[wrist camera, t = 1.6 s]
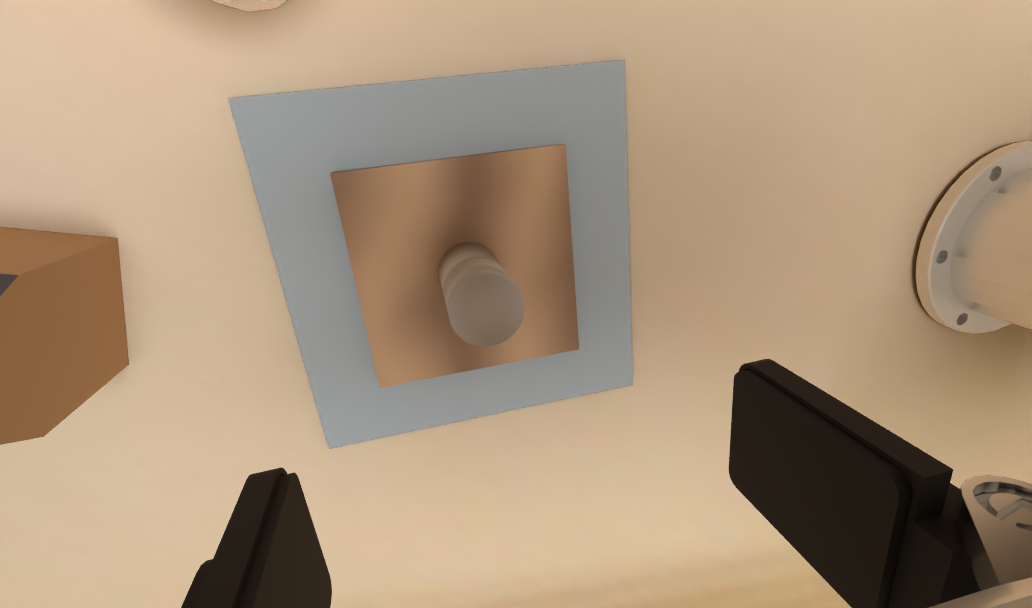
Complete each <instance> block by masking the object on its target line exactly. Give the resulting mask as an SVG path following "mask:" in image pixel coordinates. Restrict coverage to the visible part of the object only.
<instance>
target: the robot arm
mask: <svg viewBox="0 0 1032 608" xmlns="http://www.w3.org/2000/svg"><path fill="white" fill-rule="evenodd" d="M916 284H917V292H918V295H919V298H920V300H921V303H922V306H923V307H924V309H925V310H926V312H927V313H928V314H929V316H930V317H932V318H933V319H934V320H935V321H937V322H938V323H939V324H942V325H944V326H947V327H949V328H952V329H954V330H957V331H961V332H965V333H986V332H990V331H995V330H998V329H1000V328H1003V327H1005V326H1008V325H1010V324H1016V325H1019V326H1022V327H1025V328H1028V329H1031V330H1032V141H1024V142H1018V143H1012V144H1010V145H1007V146H1004V147H1002V148H999V149H997V150H995V151H993V152H991V153H990V154H988V155H986V156H985V157H983V158H981V159H980V160H979V161H977V162H976V163H975V164H974V165H973V166H971V167H970V168H969V169H968V170H966V171H965V172H964V173H963V174H962V175H961V176H960V177H959V178H958V179H957V181H956V182H955V183H954V184H953V185H952V186H951V187H950V188H949V189H948V191H947V192H946V194H945V195H944V196H943V198H942V199H941V201H940V202H939V203H938V205H937V207H936V208H935V210H934V212H933V214H932V216H931V218H930V220H929V221H928V223H927V226H926V229H925V231H924V234H923V236H922V239H921V242H920V246H919V251H918V255H917V260H916ZM952 473H953V469H951V468H950V467H948V466H947V465H945V464H943V463H942V462H940V461H938V460H937V459H935V458H933V457H932V456H930V455H928V454H927V453H925V452H923V451H922V450H920V449H918V448H917V447H915V446H913V445H912V444H910V443H908V442H907V441H905V440H904V439H902V438H900V437H899V436H897V435H895V434H894V433H892V432H890V431H889V430H887V429H885V428H884V427H882V426H880V425H879V424H877V423H875V422H874V421H872V420H870V419H869V418H867V417H865V416H864V415H862V414H860V413H859V412H857V411H856V410H854V409H852V408H851V407H849V406H847V405H846V404H844V403H842V402H841V401H839V400H837V399H836V398H834V397H832V396H831V395H829V394H827V393H826V392H824V391H822V390H821V389H819V388H817V387H816V386H814V385H813V384H811V383H809V382H808V381H806V380H804V379H803V378H801V377H799V376H798V375H796V374H794V373H793V372H791V371H789V370H788V369H786V368H784V367H783V366H781V365H779V364H778V363H776V362H774V361H773V360H770V359H764V360H759V361H755V362H751V363H746V364H743V365H742V366H741V367H740V369H739V372H737V373H736V374H735V376H734V387H733V404H732V422H731V439H730V457H729V474H730V478H731V480H732V482H733V484H734V485H735V487H736V488H737V489H738V490H739V491H740V492H741V493H742V494H743V495H744V496H745V497H746V498H747V499H748V500H749V501H750V502H751V503H752V504H753V506H754V507H755V508H756V509H757V510H758V511H759V512H760V513H761V514H762V515H763V516H764V517H765V518H766V519H767V520H768V521H769V522H770V523H771V524H772V525H773V526H774V527H775V528H776V529H777V530H778V531H779V533H780V534H781V535H782V536H783V537H784V538H785V539H786V540H787V541H788V542H789V543H790V544H791V545H792V546H793V547H794V548H795V549H796V550H797V551H798V552H799V553H800V554H801V555H802V556H803V557H804V559H805V560H806V561H807V562H808V563H809V564H810V565H811V566H812V567H813V568H814V569H815V570H816V571H817V572H818V573H819V574H820V575H821V576H822V577H823V578H824V579H825V580H826V581H827V582H828V583H829V584H830V586H831V587H832V588H833V589H834V590H835V591H836V592H837V593H838V594H839V595H840V596H841V597H842V598H843V599H844V600H845V601H846V602H847V603H848V604H849V605H850V606H851V607H852V608H1032V485H1031V484H1029V483H1026V482H1023V481H1019V480H1015V479H1011V478H1007V477H1000V476H990V475H986V476H975V477H972V478H970V479H967V480H965V482H964V483H963V484H962V486H961V489H959V488H957V487H956V486H954V485H952V484H951V483H950V480H951V476H952ZM331 596H332V587H331V579H330V575H329V572H328V569H327V565H326V562H325V559H324V556H323V553H322V550H321V547H320V544H319V541H318V538H317V534H316V531H315V528H314V525H313V522H312V519H311V516H310V513H309V510H308V506H307V503H306V500H305V497H304V494H303V491H302V488H301V485H300V482H299V479H298V476H297V475H296V473H291V474H287V472H286V471H285V469H284V468H278V469H273V470H269V471H264V472H260V473H255V474H251V475H249V476H248V478H247V480H246V482H245V485H244V487H243V489H242V492H241V494H240V496H239V499H238V501H237V504H236V506H235V508H234V511H233V513H232V515H231V518H230V520H229V523H228V525H227V527H226V530H225V532H224V535H223V537H222V539H221V542H220V544H219V546H218V549H217V551H216V554H215V556H214V558H213V559H212V560H208V561H206V562H205V563H203V564H202V565H201V566H200V568H199V570H198V572H197V573H196V575H195V578H194V580H193V582H192V584H191V587H190V589H189V591H188V593H187V596H186V598H185V600H184V602H183V605H182V607H181V608H330V605H331Z"/></svg>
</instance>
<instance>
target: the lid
mask: <svg viewBox="0 0 1032 608" xmlns="http://www.w3.org/2000/svg"><path fill="white" fill-rule="evenodd" d="M330 176H331V180H332V184H333V189H334V193H335V197H336V202H337V206H338V210H339V214H340V219H341V223H342V227H343V232H344V236H345V240H346V245H347V249H348V253H349V258H350V262H351V266H352V271H353V275H354V279H355V284H356V288H357V292H358V297H359V301H360V305H361V310H362V314H363V318H364V322H365V327H366V331H367V335H368V340H369V344H370V348H371V353H372V357H373V361H374V366H375V370H376V374H377V379H378V383H379V387H380V388H383V387H388V386H394V385H399V384H404V383H409V382H414V381H419V380H424V379H430V378H435V377H440V376H445V375H450V374H455V373H460V372H466V371H471V370H476V369H481V368H486V367H491V366H496V365H502V364H507V363H512V362H517V361H522V360H527V359H532V358H538V357H543V356H548V355H553V354H558V353H563V352H568V351H573V350H579V336H578V321H577V306H576V292H575V277H574V262H573V247H572V232H571V217H570V202H569V188H568V173H567V158H566V144H556V145H548V146H540V147H532V148H523V149H515V150H507V151H499V152H491V153H483V154H475V155H467V156H459V157H451V158H442V159H434V160H426V161H418V162H410V163H402V164H394V165H386V166H378V167H370V168H362V169H353V170H345V171H337V172H332V173H330Z"/></svg>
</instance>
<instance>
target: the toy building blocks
mask: <svg viewBox="0 0 1032 608" xmlns="http://www.w3.org/2000/svg"><path fill="white" fill-rule="evenodd" d="M127 365H129V359H128V348H127V337H126V326H125V315H124V303H123V292H122V281H121V270H120V259H119V248H118V238H110V237H100V236H89V235H78V234H68V233H57V232H47V231H36V230H25V229H15V228H4V227H0V445H1V444H6V443H12V442H17V441H23V440H28V439H33V438H39V437H44V436H45V435H46V434H47V433H48V432H49V431H51V430H52V429H53V428H54V427H55V426H57V425H58V424H59V423H60V422H61V421H62V420H64V419H65V418H66V417H67V416H68V415H70V414H71V413H72V412H73V411H74V410H75V409H77V408H78V407H79V406H80V405H81V404H83V403H84V402H85V401H86V400H87V399H88V398H90V397H91V396H92V395H93V394H94V393H96V392H97V391H98V390H99V389H100V388H101V387H103V386H104V385H105V384H106V383H107V382H109V381H110V380H111V379H112V378H113V377H114V376H116V375H117V374H118V373H119V372H120V371H122V370H123V369H124V368H125V367H126V366H127Z"/></svg>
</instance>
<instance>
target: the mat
mask: <svg viewBox="0 0 1032 608" xmlns="http://www.w3.org/2000/svg"><path fill="white" fill-rule="evenodd" d="M228 100H229V103H230V107H231V110H232V114H233V117H234V121H235V124H236V128H237V131H238V134H239V138H240V141H241V145H242V148H243V152H244V155H245V159H246V162H247V166H248V169H249V173H250V176H251V180H252V183H253V187H254V190H255V194H256V197H257V201H258V204H259V208H260V211H261V215H262V218H263V222H264V225H265V229H266V232H267V236H268V239H269V243H270V246H271V249H272V253H273V256H274V260H275V263H276V267H277V270H278V274H279V277H280V281H281V284H282V288H283V291H284V295H285V298H286V302H287V305H288V309H289V312H290V316H291V319H292V323H293V326H294V330H295V333H296V337H297V340H298V344H299V347H300V351H301V354H302V358H303V361H304V364H305V368H306V371H307V375H308V378H309V382H310V385H311V389H312V392H313V396H314V399H315V403H316V406H317V410H318V413H319V417H320V420H321V424H322V427H323V431H324V434H325V438H326V441H327V445H328V448H329V449H331V448H336V447H341V446H345V445H350V444H355V443H360V442H364V441H369V440H374V439H379V438H383V437H388V436H393V435H398V434H402V433H407V432H412V431H417V430H421V429H426V428H431V427H436V426H440V425H445V424H450V423H455V422H459V421H464V420H469V419H474V418H478V417H483V416H488V415H493V414H497V413H502V412H507V411H511V410H516V409H521V408H526V407H530V406H535V405H540V404H545V403H549V402H554V401H559V400H564V399H568V398H573V397H578V396H583V395H587V394H592V393H597V392H602V391H606V390H611V389H616V388H621V387H625V386H630V385H633V363H632V324H631V286H630V247H629V208H628V169H627V130H626V92H625V60H617V61H607V62H597V63H586V64H576V65H566V66H556V67H545V68H535V69H525V70H514V71H504V72H494V73H483V74H473V75H463V76H453V77H442V78H432V79H422V80H411V81H401V82H391V83H380V84H370V85H360V86H349V87H339V88H329V89H319V90H308V91H298V92H288V93H277V94H267V95H257V96H246V97H236V98H228ZM556 144H566V158H567V173H568V188H569V202H570V217H571V232H572V247H573V262H574V277H575V292H576V306H577V321H578V336H579V350H573V351H568V352H563V353H558V354H553V355H548V356H543V357H538V358H532V359H527V360H522V361H517V362H512V363H507V364H502V365H496V366H491V367H486V368H481V369H476V370H471V371H466V372H460V373H455V374H450V375H445V376H440V377H435V378H430V379H424V380H419V381H414V382H409V383H404V384H399V385H394V386H388V387H383V388H380V387H379V383H378V379H377V374H376V370H375V366H374V361H373V357H372V353H371V348H370V344H369V340H368V335H367V331H366V327H365V322H364V318H363V314H362V310H361V305H360V301H359V297H358V292H357V288H356V284H355V279H354V275H353V271H352V266H351V262H350V258H349V253H348V249H347V245H346V240H345V236H344V232H343V227H342V223H341V219H340V214H339V210H338V206H337V202H336V197H335V193H334V189H333V184H332V180H331V176H330V173H332V172H337V171H345V170H353V169H362V168H370V167H378V166H386V165H394V164H402V163H410V162H418V161H426V160H434V159H442V158H451V157H459V156H467V155H475V154H483V153H491V152H499V151H507V150H515V149H523V148H532V147H540V146H548V145H556Z"/></svg>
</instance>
